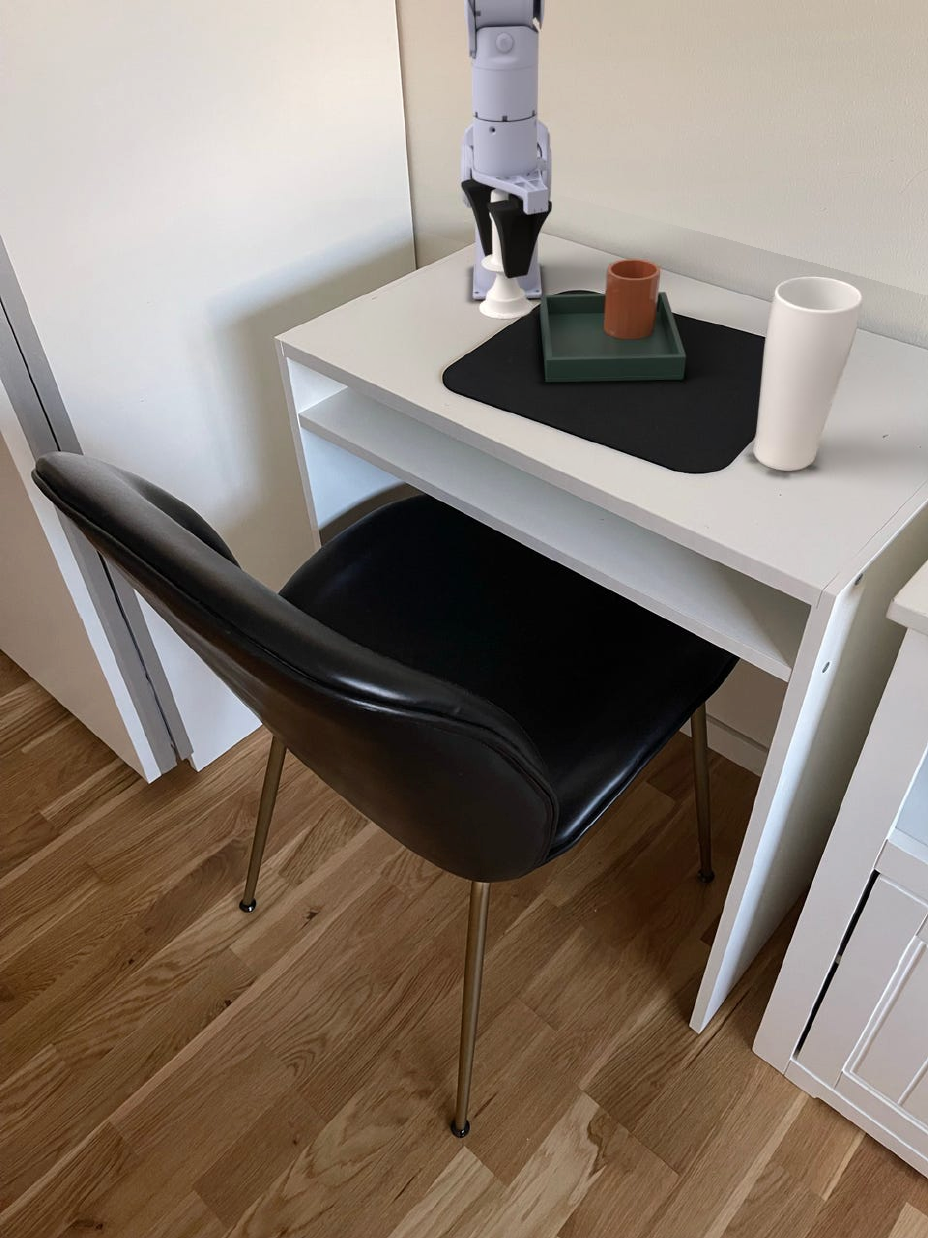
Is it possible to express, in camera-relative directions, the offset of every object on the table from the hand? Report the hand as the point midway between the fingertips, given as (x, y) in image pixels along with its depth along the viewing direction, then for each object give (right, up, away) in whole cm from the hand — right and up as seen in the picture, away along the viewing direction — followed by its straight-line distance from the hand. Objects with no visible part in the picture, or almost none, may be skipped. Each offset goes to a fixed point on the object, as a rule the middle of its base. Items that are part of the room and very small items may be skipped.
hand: (506, 265), depth 93 cm
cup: (+14, -3, +10) cm, 17 cm away
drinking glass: (+24, -20, -8) cm, 33 cm away
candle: (0, -3, +3) cm, 5 cm away
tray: (+11, -5, +9) cm, 15 cm away
